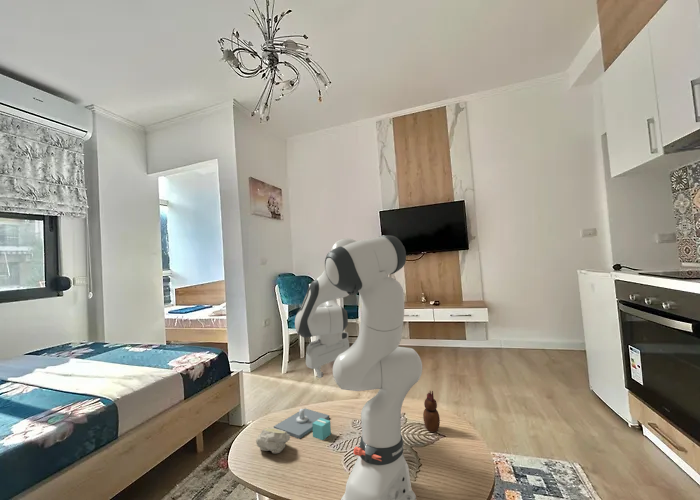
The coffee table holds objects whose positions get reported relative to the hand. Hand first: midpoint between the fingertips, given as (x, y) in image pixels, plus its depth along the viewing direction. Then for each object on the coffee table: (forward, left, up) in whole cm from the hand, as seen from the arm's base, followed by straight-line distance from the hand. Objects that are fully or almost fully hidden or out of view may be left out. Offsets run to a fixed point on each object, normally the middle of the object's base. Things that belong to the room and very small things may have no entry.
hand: (329, 373), depth 121 cm
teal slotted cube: (-2, +3, -23) cm, 23 cm away
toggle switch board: (+1, +16, -23) cm, 28 cm away
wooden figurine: (+22, -31, -23) cm, 44 cm away
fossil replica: (-18, +12, -23) cm, 32 cm away
